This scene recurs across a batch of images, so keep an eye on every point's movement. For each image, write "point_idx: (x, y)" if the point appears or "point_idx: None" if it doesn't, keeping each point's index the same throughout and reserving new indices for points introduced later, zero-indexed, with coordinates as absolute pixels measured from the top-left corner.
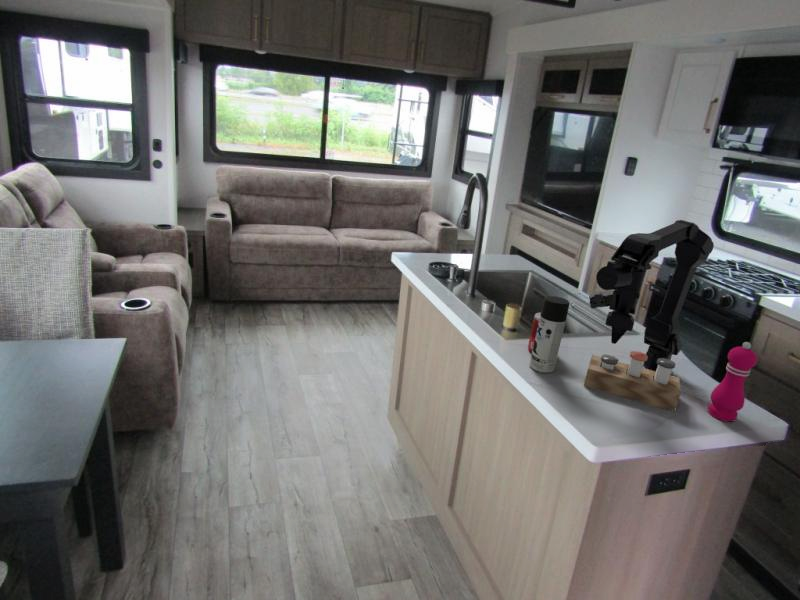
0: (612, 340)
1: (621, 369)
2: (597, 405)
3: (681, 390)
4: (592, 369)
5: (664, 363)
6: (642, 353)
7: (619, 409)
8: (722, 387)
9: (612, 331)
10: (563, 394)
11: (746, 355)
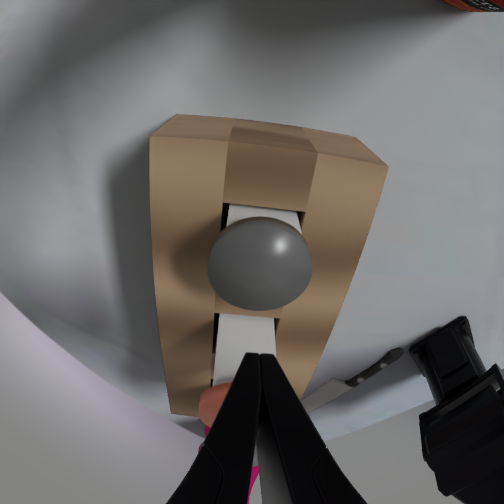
0: (236, 375)
1: None
2: (51, 179)
3: (320, 388)
4: (153, 161)
5: None
6: None
7: (76, 245)
8: None
9: (197, 455)
10: (51, 54)
11: None
